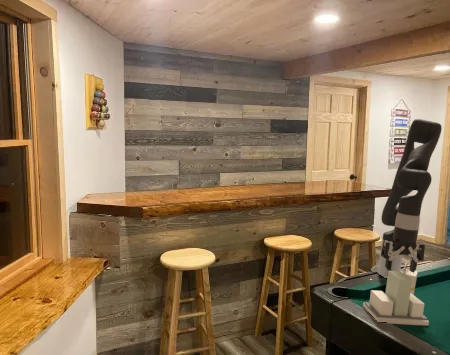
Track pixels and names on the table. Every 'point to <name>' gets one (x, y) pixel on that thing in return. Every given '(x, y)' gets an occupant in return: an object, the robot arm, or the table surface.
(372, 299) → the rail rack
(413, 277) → the ink cartridge box
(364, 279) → the table surface
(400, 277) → the block
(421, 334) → the table surface
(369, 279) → the table surface
